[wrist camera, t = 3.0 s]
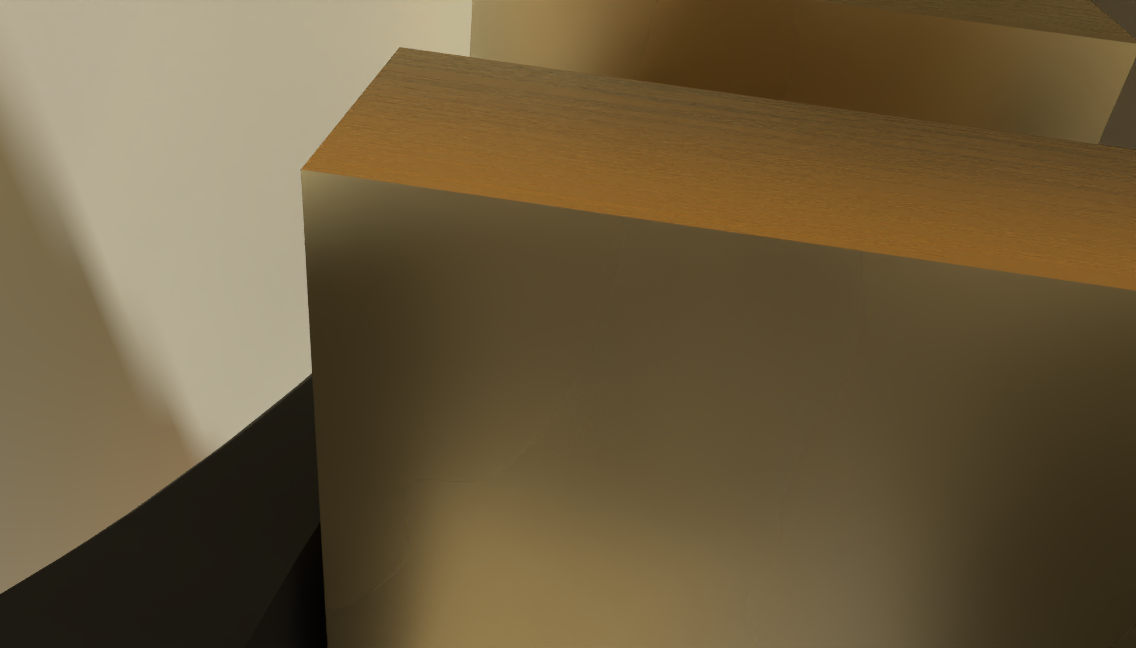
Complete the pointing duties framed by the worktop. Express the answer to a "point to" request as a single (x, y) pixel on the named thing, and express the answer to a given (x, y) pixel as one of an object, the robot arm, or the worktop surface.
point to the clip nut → (731, 330)
